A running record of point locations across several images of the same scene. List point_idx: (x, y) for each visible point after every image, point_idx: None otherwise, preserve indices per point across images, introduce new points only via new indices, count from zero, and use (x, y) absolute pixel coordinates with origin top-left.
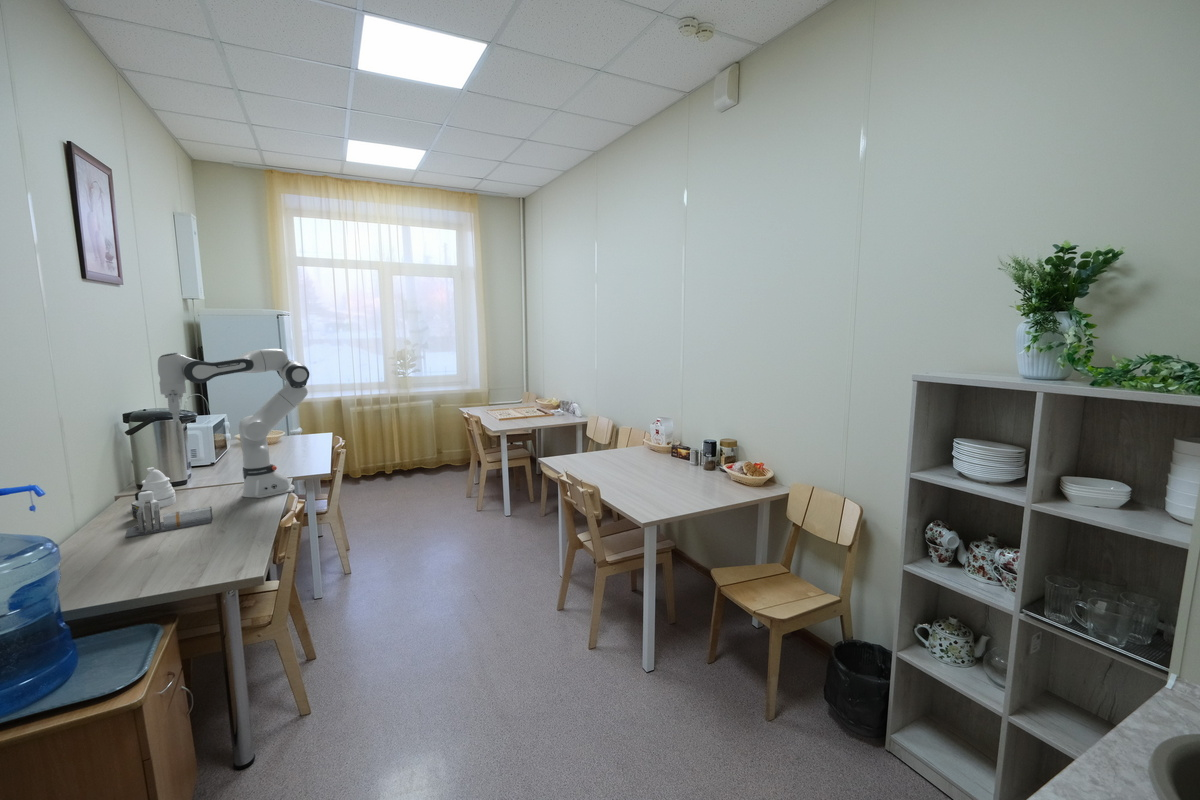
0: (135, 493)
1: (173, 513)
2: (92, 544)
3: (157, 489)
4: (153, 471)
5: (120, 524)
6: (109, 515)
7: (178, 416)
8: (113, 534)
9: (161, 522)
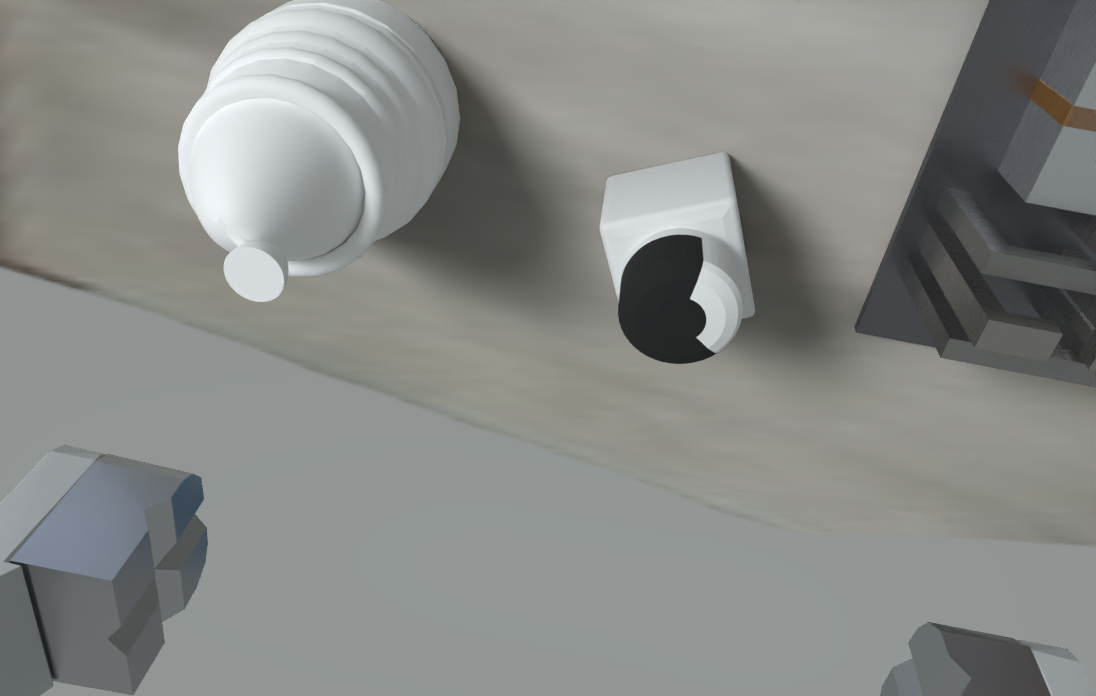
0: (668, 362)
1: (1088, 147)
2: (982, 473)
3: (404, 167)
4: (262, 236)
5: None
6: (439, 355)
7: (152, 545)
8: (889, 391)
9: (932, 179)
